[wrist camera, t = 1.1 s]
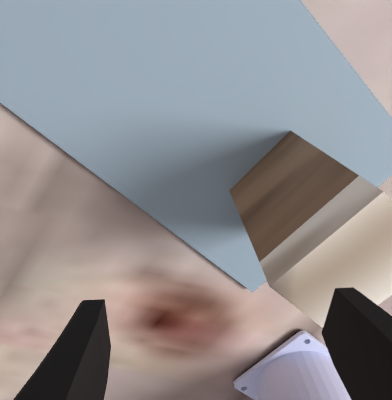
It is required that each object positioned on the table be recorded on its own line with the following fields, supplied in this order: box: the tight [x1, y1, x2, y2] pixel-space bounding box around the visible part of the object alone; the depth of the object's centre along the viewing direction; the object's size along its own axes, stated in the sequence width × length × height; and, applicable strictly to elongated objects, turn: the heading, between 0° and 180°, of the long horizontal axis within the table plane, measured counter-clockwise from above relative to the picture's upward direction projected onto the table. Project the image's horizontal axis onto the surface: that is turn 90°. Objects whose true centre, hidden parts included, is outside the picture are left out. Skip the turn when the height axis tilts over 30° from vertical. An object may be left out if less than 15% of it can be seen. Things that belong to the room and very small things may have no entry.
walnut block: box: [229, 131, 392, 328], centre depth 16 cm, size 4×5×9 cm
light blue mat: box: [0, 0, 392, 293], centre depth 18 cm, size 24×14×1 cm, turn 47°
